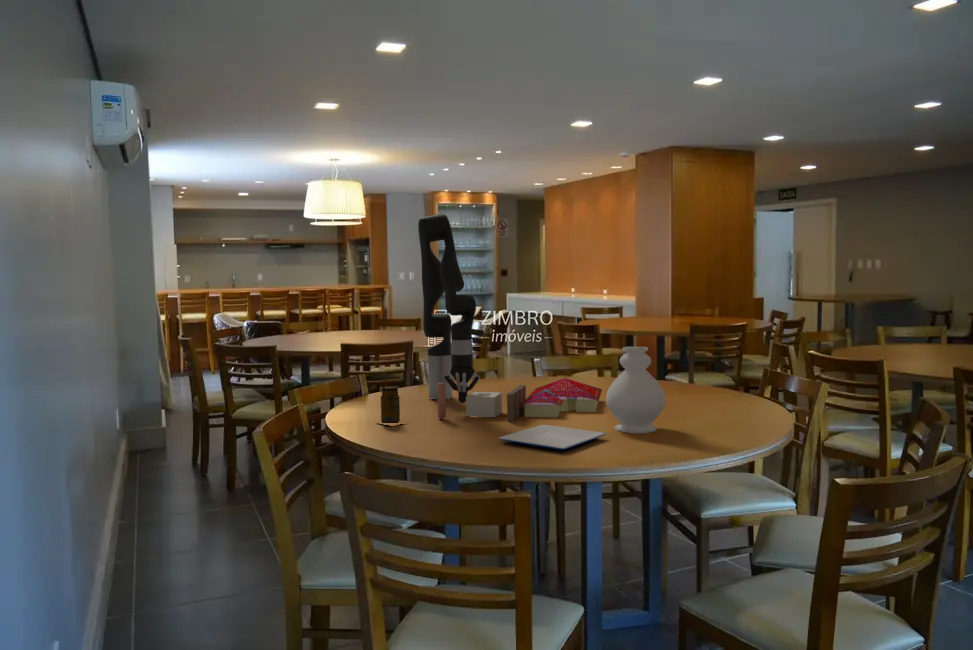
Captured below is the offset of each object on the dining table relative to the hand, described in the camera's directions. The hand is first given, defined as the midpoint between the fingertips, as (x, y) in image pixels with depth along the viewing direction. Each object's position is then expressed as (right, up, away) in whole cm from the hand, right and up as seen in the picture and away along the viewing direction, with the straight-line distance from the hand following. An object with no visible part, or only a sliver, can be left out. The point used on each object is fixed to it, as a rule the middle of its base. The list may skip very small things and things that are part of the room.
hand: (463, 402), depth 253 cm
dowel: (-7, -5, -8) cm, 11 cm away
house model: (+36, -3, +9) cm, 37 cm away
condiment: (-23, -6, -14) cm, 27 cm away
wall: (+19, -4, -4) cm, 20 cm away
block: (+7, -4, -1) cm, 9 cm away
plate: (+27, -7, -44) cm, 52 cm away
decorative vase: (+54, -5, -29) cm, 62 cm away
